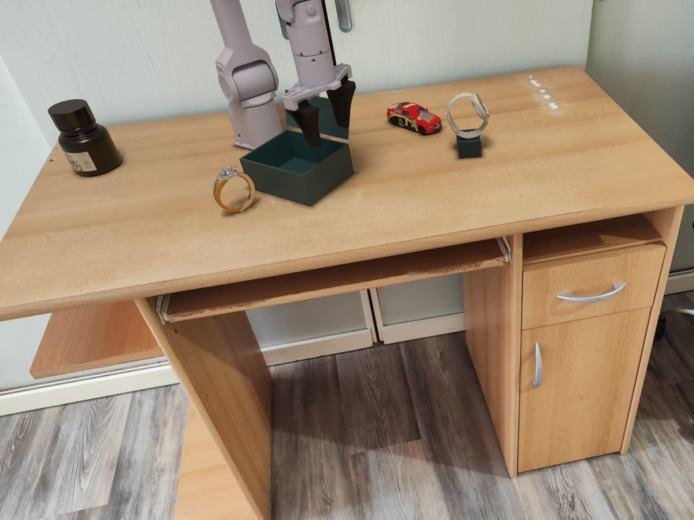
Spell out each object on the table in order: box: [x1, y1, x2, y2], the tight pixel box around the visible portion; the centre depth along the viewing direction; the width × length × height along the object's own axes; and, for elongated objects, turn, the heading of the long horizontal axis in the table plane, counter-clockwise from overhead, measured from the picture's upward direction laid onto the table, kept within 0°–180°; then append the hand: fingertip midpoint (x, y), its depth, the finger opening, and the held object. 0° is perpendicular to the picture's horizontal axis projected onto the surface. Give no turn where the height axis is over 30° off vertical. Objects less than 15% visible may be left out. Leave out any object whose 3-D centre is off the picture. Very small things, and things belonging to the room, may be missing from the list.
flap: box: [284, 89, 350, 141], centre depth 105 cm, size 6×15×1 cm
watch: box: [446, 91, 490, 160], centre depth 109 cm, size 6×8×11 cm
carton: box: [238, 128, 355, 207], centre depth 106 cm, size 13×15×6 cm
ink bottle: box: [47, 98, 122, 177], centre depth 111 cm, size 10×9×12 cm
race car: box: [386, 101, 442, 136], centre depth 121 cm, size 13×5×4 cm, turn 50°
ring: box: [212, 166, 256, 213], centre depth 99 cm, size 7×3×8 cm, turn 127°
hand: (329, 136), depth 97 cm, fingers open, 7 cm apart
